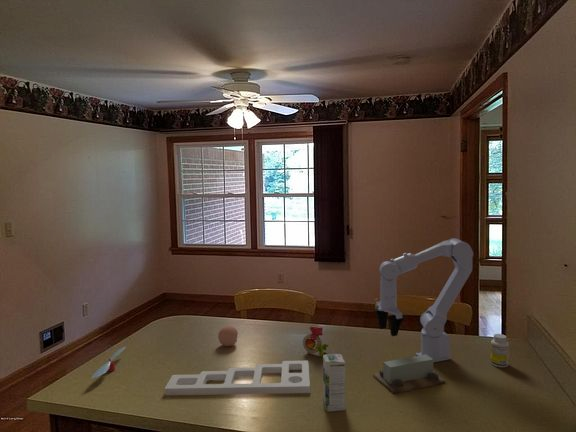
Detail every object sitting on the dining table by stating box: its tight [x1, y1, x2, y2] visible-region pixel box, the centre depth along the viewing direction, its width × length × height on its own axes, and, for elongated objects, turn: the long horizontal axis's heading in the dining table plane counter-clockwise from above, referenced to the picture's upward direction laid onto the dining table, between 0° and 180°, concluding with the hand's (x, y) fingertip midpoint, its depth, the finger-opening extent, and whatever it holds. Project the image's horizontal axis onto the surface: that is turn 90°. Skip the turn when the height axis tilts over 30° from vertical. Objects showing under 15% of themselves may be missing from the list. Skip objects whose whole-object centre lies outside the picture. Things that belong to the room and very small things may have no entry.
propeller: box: [90, 346, 127, 379], centre depth 148 cm, size 4×25×4 cm, turn 177°
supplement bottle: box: [490, 333, 510, 368], centre depth 144 cm, size 6×6×10 cm
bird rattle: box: [302, 326, 329, 357], centre depth 157 cm, size 6×11×9 cm
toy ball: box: [217, 325, 239, 347], centre depth 167 cm, size 8×8×8 cm
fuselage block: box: [382, 354, 434, 384], centre depth 136 cm, size 16×4×6 cm, turn 108°
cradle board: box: [372, 369, 446, 395], centre depth 136 cm, size 19×12×2 cm, turn 108°
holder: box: [164, 360, 311, 396], centre depth 139 cm, size 45×18×3 cm, turn 89°
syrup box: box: [322, 353, 346, 413], centre depth 121 cm, size 6×6×14 cm
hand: (388, 331), depth 152 cm, fingers open, 7 cm apart
